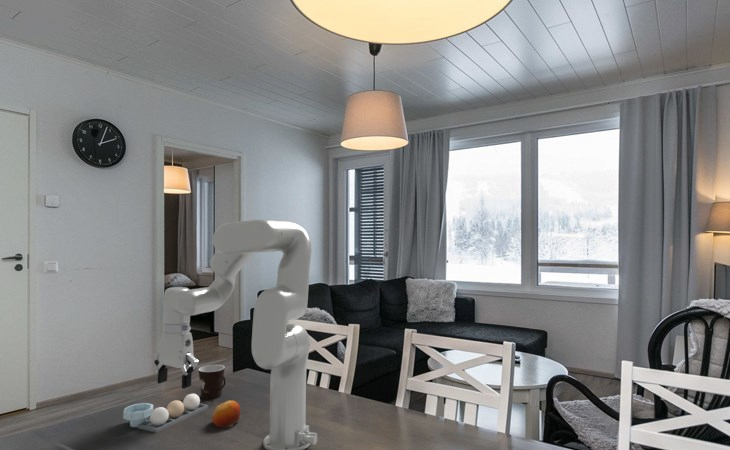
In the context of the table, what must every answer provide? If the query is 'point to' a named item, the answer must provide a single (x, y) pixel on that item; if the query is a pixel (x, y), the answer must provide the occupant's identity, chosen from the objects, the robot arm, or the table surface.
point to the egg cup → (137, 413)
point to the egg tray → (172, 419)
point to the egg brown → (175, 409)
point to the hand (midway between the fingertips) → (174, 384)
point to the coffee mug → (211, 381)
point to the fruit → (226, 414)
